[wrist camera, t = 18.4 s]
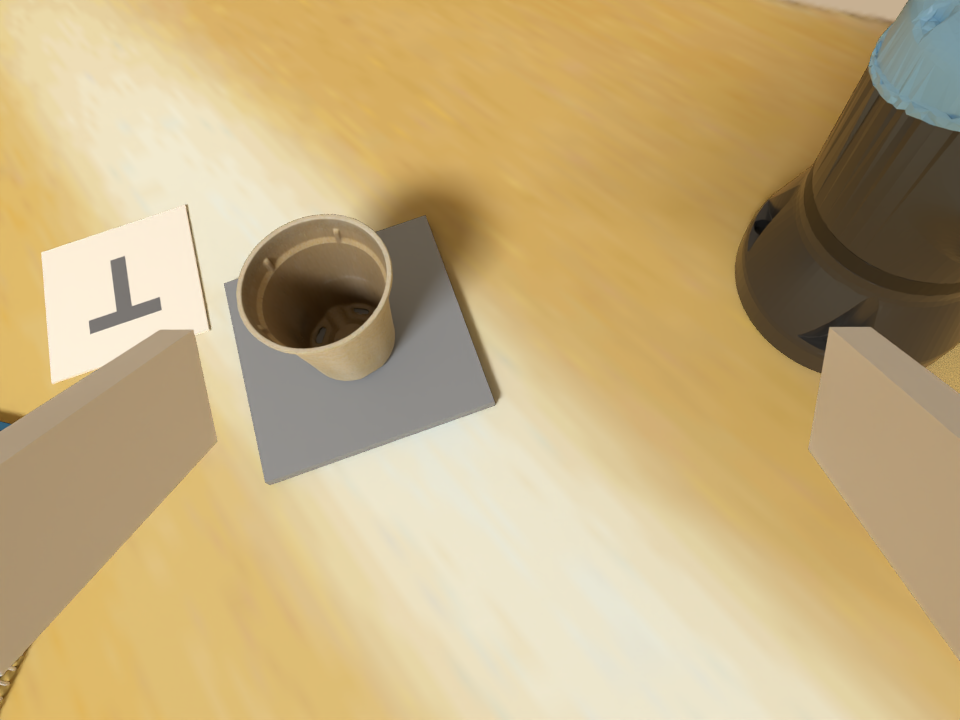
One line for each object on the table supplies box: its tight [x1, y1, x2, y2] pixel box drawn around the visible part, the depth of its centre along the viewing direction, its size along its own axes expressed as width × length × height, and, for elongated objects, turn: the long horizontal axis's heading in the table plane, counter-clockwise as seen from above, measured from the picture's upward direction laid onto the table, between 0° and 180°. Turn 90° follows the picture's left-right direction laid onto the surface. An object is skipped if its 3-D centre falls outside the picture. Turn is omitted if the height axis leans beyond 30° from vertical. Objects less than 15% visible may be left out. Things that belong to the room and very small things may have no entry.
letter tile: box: [41, 205, 210, 384], centre depth 51 cm, size 12×12×1 cm
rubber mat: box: [224, 215, 495, 485], centre depth 48 cm, size 16×16×1 cm
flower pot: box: [236, 214, 395, 381], centre depth 43 cm, size 9×9×9 cm
